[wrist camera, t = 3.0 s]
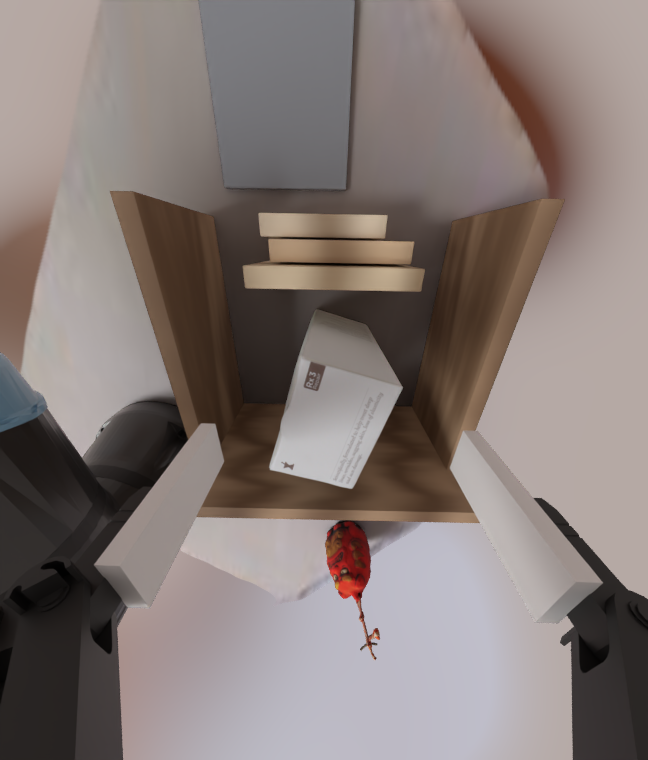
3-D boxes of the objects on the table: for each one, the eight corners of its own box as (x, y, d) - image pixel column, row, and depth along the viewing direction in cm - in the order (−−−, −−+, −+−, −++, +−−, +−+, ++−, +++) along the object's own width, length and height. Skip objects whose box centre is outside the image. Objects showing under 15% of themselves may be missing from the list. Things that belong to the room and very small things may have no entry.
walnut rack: (235, 410, 31) (174, 516, 19) (199, 216, 21) (24, 166, 9) (419, 414, 31) (480, 523, 19) (466, 221, 21) (659, 178, 9)
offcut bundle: (269, 276, 24) (245, 288, 17) (265, 220, 22) (234, 206, 14) (392, 279, 24) (420, 291, 17) (400, 222, 21) (436, 210, 14)
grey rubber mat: (226, 188, 20) (224, 187, 20) (200, -5, 16) (196, -12, 15) (345, 190, 20) (346, 189, 20) (354, -2, 16) (355, -10, 15)
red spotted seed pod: (341, 513, 40) (348, 640, 27) (375, 526, 42) (398, 653, 29) (318, 536, 44) (315, 660, 30) (351, 547, 45) (362, 670, 32)
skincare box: (342, 386, 29) (355, 496, 16) (293, 373, 28) (265, 477, 15) (368, 319, 25) (413, 391, 12) (313, 302, 25) (297, 359, 12)
